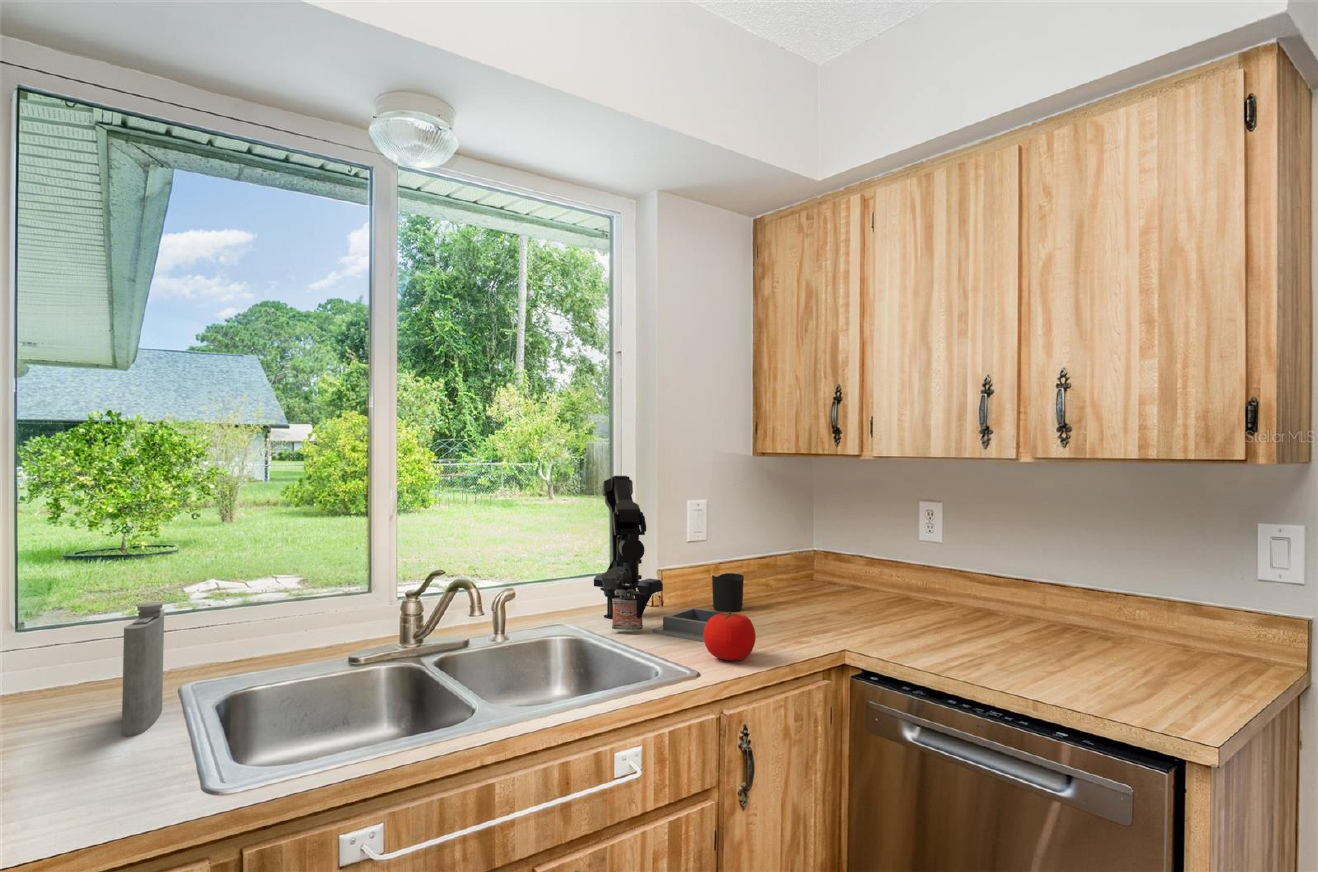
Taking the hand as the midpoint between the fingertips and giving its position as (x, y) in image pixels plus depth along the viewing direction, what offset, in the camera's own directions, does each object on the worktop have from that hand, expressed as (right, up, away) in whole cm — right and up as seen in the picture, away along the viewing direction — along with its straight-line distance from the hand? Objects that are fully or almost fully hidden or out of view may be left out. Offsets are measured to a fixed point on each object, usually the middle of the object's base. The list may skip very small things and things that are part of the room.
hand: (627, 616), depth 185 cm
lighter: (0, -3, 0) cm, 3 cm away
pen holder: (+29, -5, +29) cm, 41 cm away
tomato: (+24, -4, -23) cm, 34 cm away
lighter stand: (+19, -4, +2) cm, 20 cm away
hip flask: (-81, -3, -60) cm, 101 cm away
